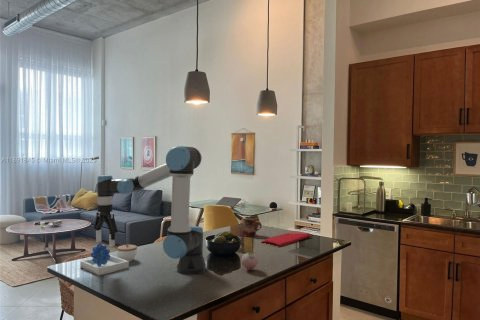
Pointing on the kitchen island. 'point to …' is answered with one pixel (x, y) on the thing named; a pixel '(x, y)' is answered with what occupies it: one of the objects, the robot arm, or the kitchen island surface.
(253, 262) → the decorative fruit
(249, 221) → the decorative planter
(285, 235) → the dish drying mat
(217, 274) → the kitchen island surface
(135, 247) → the lidded jar
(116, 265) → the tray
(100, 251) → the grapes
